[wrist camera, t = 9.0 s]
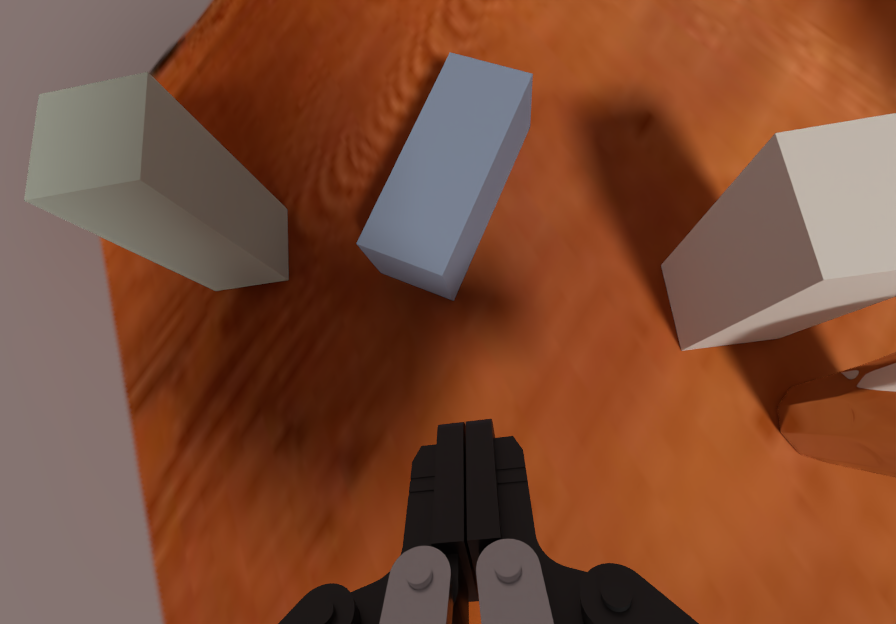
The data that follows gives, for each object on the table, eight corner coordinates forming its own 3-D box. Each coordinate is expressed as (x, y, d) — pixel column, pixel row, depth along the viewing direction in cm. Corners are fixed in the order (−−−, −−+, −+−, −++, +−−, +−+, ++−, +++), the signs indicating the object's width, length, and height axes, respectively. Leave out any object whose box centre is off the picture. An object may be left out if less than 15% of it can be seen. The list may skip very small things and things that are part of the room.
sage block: (287, 209, 25) (147, 71, 16) (288, 280, 24) (139, 179, 15) (217, 221, 26) (38, 94, 16) (215, 291, 25) (24, 200, 15)
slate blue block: (454, 302, 23) (530, 129, 25) (442, 276, 19) (532, 73, 21) (381, 274, 24) (459, 109, 26) (356, 243, 20) (449, 52, 22)
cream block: (752, 252, 21) (945, 104, 12) (778, 338, 20) (1012, 254, 11) (660, 265, 22) (775, 133, 12) (681, 350, 21) (823, 279, 11)
